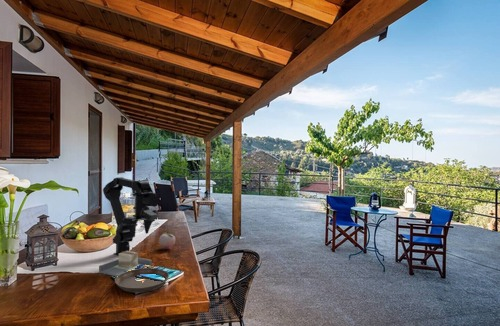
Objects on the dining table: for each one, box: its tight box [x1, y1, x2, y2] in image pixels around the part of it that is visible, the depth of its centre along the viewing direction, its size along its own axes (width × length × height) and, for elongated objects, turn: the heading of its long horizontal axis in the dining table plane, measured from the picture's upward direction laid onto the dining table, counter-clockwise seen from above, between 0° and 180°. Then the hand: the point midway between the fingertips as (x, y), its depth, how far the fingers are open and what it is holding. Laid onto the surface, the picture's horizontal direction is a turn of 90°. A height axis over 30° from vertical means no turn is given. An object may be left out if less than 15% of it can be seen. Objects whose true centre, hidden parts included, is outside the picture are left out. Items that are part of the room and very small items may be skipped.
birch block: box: [118, 250, 139, 269], centre depth 144 cm, size 5×7×6 cm
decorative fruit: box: [158, 231, 176, 250], centre depth 175 cm, size 9×8×10 cm
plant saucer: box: [114, 267, 170, 294], centre depth 125 cm, size 21×21×3 cm
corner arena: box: [98, 257, 153, 277], centre depth 141 cm, size 15×17×3 cm
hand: (140, 235), depth 157 cm, fingers open, 9 cm apart
